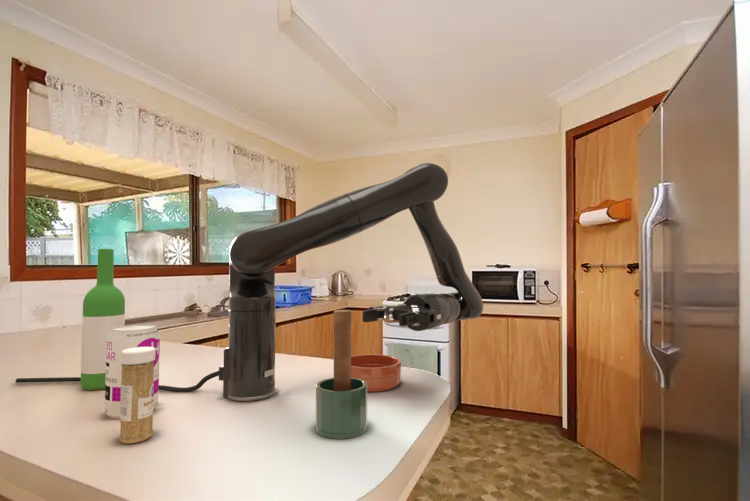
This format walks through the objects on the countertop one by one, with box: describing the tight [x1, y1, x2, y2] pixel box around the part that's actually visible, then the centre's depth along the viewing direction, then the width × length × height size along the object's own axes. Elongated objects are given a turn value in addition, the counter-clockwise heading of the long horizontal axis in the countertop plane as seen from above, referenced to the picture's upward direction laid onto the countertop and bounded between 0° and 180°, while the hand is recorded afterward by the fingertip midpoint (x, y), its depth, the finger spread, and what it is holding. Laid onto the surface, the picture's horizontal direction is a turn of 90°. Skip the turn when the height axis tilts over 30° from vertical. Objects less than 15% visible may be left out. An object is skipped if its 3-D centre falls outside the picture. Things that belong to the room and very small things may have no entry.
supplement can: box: [104, 324, 161, 420], centre depth 71 cm, size 8×8×15 cm
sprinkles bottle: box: [118, 347, 155, 445], centre depth 60 cm, size 5×5×13 cm
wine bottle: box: [80, 248, 126, 391], centre depth 87 cm, size 8×8×30 cm
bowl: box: [351, 353, 402, 393], centre depth 88 cm, size 13×13×5 cm
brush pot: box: [315, 377, 368, 440], centre depth 64 cm, size 8×8×7 cm
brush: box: [333, 309, 352, 391], centre depth 64 cm, size 5×5×18 cm
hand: (381, 318), depth 73 cm, fingers open, 8 cm apart
